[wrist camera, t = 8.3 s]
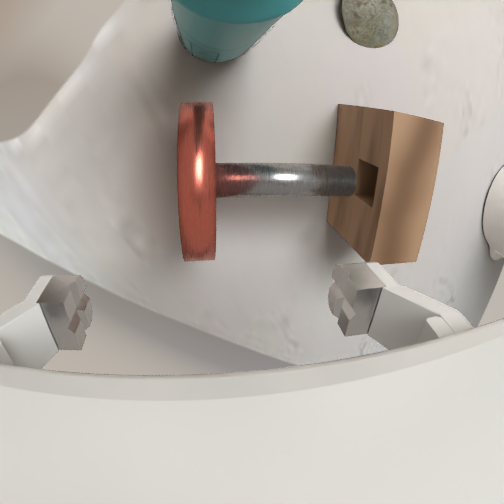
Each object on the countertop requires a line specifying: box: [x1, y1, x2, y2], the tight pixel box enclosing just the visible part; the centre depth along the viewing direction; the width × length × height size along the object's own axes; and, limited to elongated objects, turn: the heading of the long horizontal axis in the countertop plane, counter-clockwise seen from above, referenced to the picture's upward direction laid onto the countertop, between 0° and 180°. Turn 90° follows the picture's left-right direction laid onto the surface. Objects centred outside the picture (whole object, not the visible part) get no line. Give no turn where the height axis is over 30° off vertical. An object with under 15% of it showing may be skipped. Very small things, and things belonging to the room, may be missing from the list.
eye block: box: [327, 104, 444, 265], centre depth 25 cm, size 5×12×9 cm, turn 178°
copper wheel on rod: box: [177, 102, 356, 261], centre depth 22 cm, size 12×11×11 cm
